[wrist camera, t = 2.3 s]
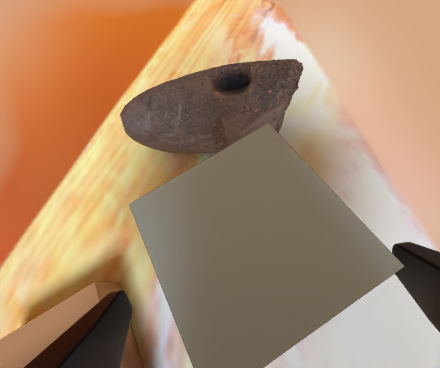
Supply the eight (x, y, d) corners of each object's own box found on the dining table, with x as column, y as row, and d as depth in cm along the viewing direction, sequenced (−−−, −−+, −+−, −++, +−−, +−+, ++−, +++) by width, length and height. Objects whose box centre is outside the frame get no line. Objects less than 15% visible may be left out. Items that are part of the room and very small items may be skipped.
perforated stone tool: (135, 168, 20) (83, 118, 14) (145, 125, 23) (103, 65, 16) (296, 159, 18) (318, 95, 12) (289, 113, 20) (305, 39, 14)
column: (292, 277, 14) (404, 266, 4) (243, 310, 14) (209, 406, 3) (258, 228, 16) (268, 123, 5) (214, 256, 16) (128, 204, 5)
